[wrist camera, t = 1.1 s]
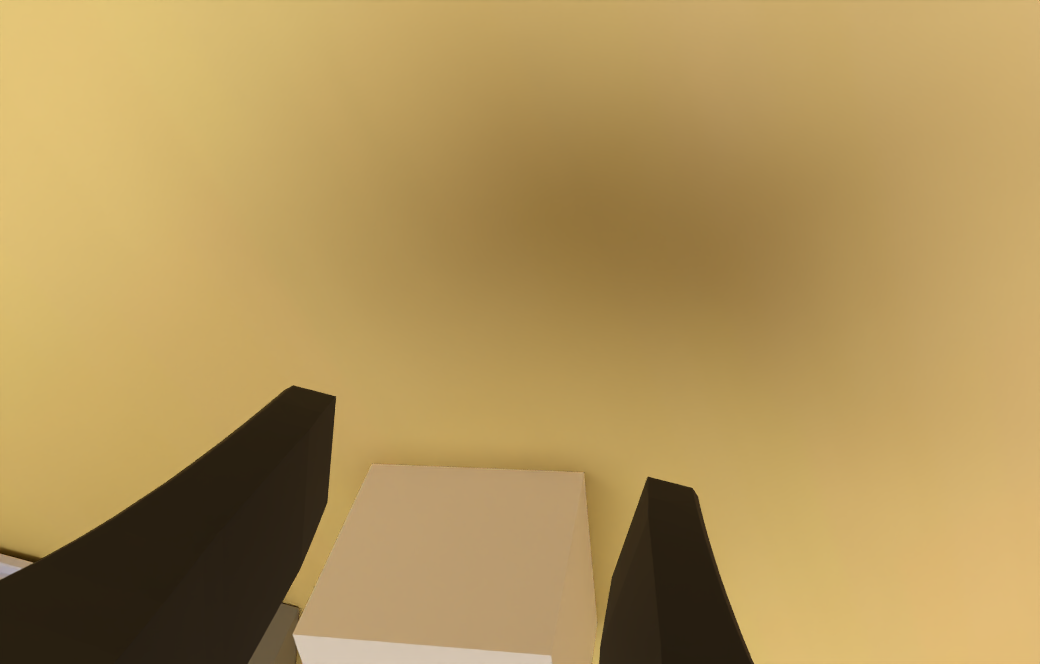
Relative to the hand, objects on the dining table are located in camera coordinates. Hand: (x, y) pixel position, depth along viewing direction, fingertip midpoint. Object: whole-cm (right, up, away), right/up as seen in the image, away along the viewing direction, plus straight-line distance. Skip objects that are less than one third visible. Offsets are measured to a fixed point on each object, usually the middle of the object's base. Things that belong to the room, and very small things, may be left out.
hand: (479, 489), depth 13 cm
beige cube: (0, -4, +14) cm, 15 cm away
